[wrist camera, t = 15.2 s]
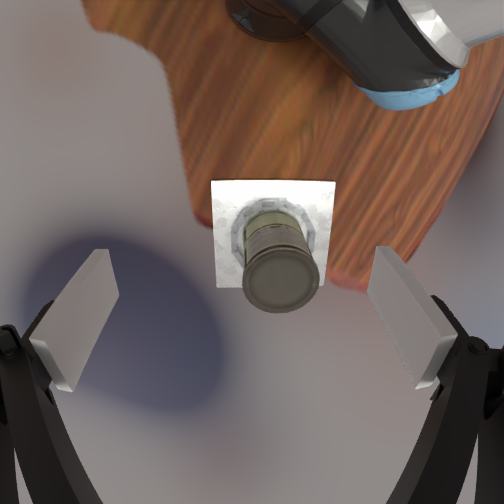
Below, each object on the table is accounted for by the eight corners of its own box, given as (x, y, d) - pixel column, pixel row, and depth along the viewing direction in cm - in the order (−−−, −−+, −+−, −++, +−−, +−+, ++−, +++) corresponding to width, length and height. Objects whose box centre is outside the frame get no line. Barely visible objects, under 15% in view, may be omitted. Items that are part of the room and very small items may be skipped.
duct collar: (211, 179, 49) (210, 183, 47) (333, 180, 50) (337, 184, 48) (217, 284, 59) (216, 292, 56) (322, 282, 59) (325, 290, 57)
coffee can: (313, 242, 54) (333, 287, 42) (265, 273, 57) (271, 325, 44) (280, 196, 50) (292, 232, 38) (229, 232, 53) (225, 277, 40)
